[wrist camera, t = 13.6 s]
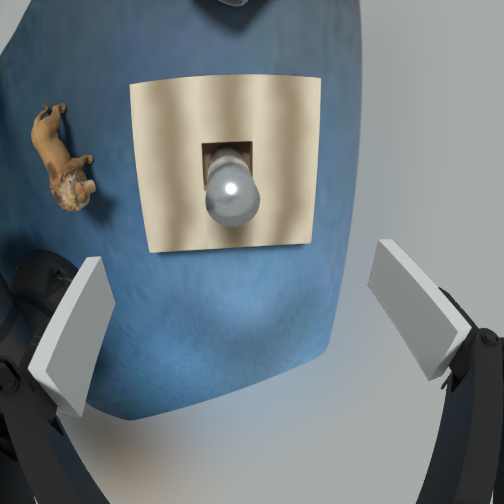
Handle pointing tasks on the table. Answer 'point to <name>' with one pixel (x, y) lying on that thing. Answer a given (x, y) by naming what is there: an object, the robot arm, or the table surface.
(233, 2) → the ceramic mug
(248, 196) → the metal peg
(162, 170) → the maple block
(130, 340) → the table surface
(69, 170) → the lion figurine
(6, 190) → the table surface
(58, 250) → the table surface
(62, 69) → the table surface
